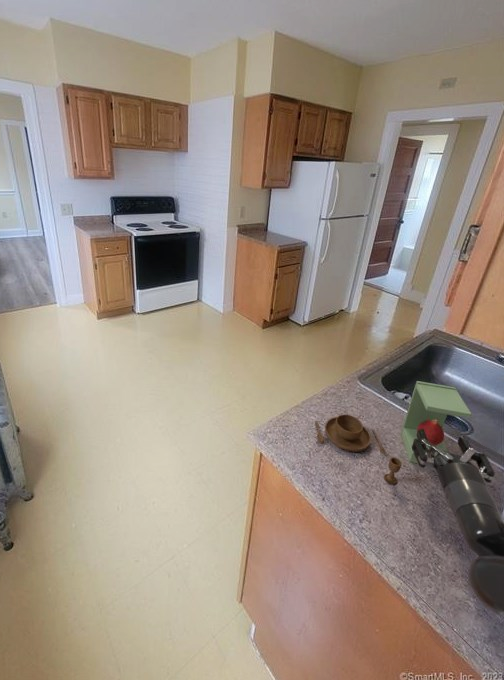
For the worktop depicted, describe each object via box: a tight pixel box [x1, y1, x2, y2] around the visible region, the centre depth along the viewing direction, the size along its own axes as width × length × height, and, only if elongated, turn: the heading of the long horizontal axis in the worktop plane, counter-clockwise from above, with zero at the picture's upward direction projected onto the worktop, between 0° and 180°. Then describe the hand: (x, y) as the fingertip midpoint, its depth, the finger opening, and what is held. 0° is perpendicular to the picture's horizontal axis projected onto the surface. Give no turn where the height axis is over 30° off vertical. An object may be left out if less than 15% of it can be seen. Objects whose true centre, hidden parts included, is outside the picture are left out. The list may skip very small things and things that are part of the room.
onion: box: [417, 420, 445, 445], centre depth 83 cm, size 6×6×8 cm
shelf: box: [400, 380, 473, 468], centre depth 82 cm, size 10×9×18 cm
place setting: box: [314, 414, 403, 486], centre depth 85 cm, size 18×20×6 cm
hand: (440, 435), depth 78 cm, fingers open, 8 cm apart
